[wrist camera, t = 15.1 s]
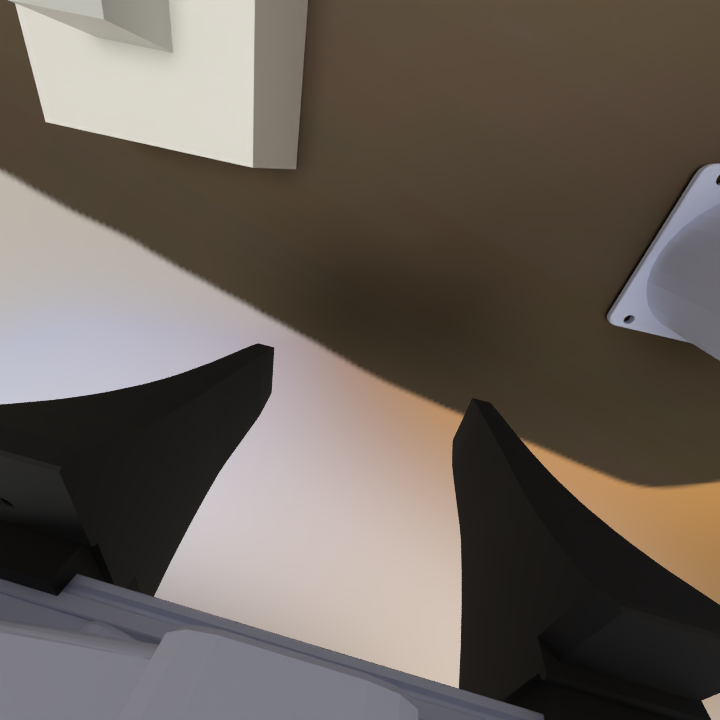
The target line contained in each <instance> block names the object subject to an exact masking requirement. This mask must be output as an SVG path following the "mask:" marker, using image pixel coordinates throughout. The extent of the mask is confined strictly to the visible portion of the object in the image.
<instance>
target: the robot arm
mask: <svg viewBox="0 0 720 720" xmlns="http://www.w3.org/2000/svg"><path fill="white" fill-rule="evenodd" d="M719 175H720V164H708V165H705V166H703V167H702V168H700V169H699V170H698V171H697V172H696V174H695V175H694V177H693V178H692V180H691V181H690V183H689V185H688V186H687V188H686V189H685V191H684V193H683V194H682V196H681V197H680V199H679V201H678V202H677V204H676V205H675V207H674V209H673V210H672V212H671V213H670V215H669V217H668V218H667V220H666V221H665V223H664V225H663V226H662V228H661V229H660V231H659V233H658V234H657V236H656V237H655V239H654V241H653V242H652V244H651V245H650V247H649V248H648V250H647V252H646V253H645V255H644V256H643V258H642V260H641V261H640V263H639V264H638V266H637V268H636V269H635V271H634V272H633V274H632V276H631V277H630V279H629V280H628V282H627V284H626V285H625V287H624V288H623V290H622V292H621V293H620V295H619V296H618V298H617V300H616V301H615V303H614V304H613V306H612V308H611V309H610V311H609V312H608V315H607V320H608V321H609V322H610V323H611V324H613V325H616V326H620V327H625V328H629V329H633V330H637V331H642V332H646V333H650V334H655V335H659V336H663V337H667V338H672V339H676V340H680V341H685V342H689V343H692V344H694V345H695V346H697V347H698V348H700V349H702V350H703V351H705V352H706V353H708V354H709V355H711V356H713V357H714V358H716V359H717V360H719V361H720V183H719V184H716V179H717V177H718V176H719ZM629 315H631V317H630V319H629V320H627V321H624V318H625V317H626V316H629ZM273 359H274V347H270V346H266V345H262V344H255V345H252V346H250V347H247V348H245V349H242V350H240V351H238V352H235V353H233V354H231V355H228V356H226V357H223V358H221V359H218V360H216V361H214V362H211V363H209V364H206V365H203V366H200V367H198V368H195V369H192V370H190V371H187V372H184V373H181V374H178V375H175V376H172V377H168V378H165V379H162V380H158V381H154V382H151V383H147V384H143V385H138V386H133V387H129V388H124V389H120V390H115V391H110V392H105V393H99V394H93V395H87V396H79V397H72V398H66V399H57V400H48V401H37V402H27V403H26V402H25V403H14V404H2V405H0V720H711V718H710V717H709V715H708V713H707V711H706V709H705V707H704V705H703V703H702V701H701V700H704V699H706V698H709V697H711V696H713V695H716V694H718V693H720V605H719V604H717V603H716V602H714V601H713V600H711V599H710V598H708V597H707V596H705V595H704V594H702V593H701V592H699V591H698V590H696V589H695V588H693V587H692V586H690V585H689V584H688V583H686V582H684V581H683V580H681V579H680V578H678V577H677V576H675V575H674V574H672V573H671V572H669V571H668V570H667V569H665V568H664V567H662V566H661V565H659V564H658V563H657V562H655V561H654V560H653V559H651V558H650V557H649V556H647V555H646V554H644V553H643V552H642V551H640V550H639V549H637V548H636V547H635V546H634V545H632V544H631V543H629V542H628V541H627V540H626V539H624V538H623V537H622V536H621V535H619V534H618V533H617V532H615V531H614V530H613V529H611V528H610V527H609V526H608V525H607V524H606V523H604V522H603V521H602V520H601V519H600V518H598V517H597V516H596V515H595V514H594V513H592V512H591V511H590V510H589V509H588V508H586V506H584V505H583V504H582V503H581V502H580V501H578V499H577V498H576V497H574V496H573V495H572V494H571V493H570V492H569V491H568V490H567V489H566V488H565V487H564V486H563V485H562V484H561V483H560V482H558V480H557V479H556V478H555V477H554V476H553V475H552V474H551V473H550V472H549V471H548V470H547V469H546V468H545V467H544V466H543V465H542V464H541V462H540V461H539V460H538V459H537V458H536V457H535V456H534V455H533V454H532V452H530V450H529V449H528V448H527V447H526V446H525V444H524V443H523V442H522V441H521V440H520V438H519V437H518V436H517V435H516V433H515V432H514V431H513V430H512V429H511V427H510V426H509V425H508V424H507V422H506V421H505V420H504V419H503V417H502V416H501V415H500V414H499V412H498V411H497V410H496V409H495V408H494V407H493V405H492V404H491V403H489V402H485V401H481V400H478V399H474V398H472V400H471V402H470V405H469V407H468V409H467V411H466V413H465V415H464V417H463V420H462V422H461V424H460V426H459V428H458V430H457V432H456V435H455V437H454V439H453V450H452V467H453V475H454V484H455V492H456V500H457V508H458V516H459V524H460V534H461V558H462V618H461V654H460V676H459V677H460V678H459V689H458V688H455V687H451V686H448V685H445V684H441V683H438V682H435V681H431V680H428V679H425V678H421V677H418V676H415V675H411V674H408V673H405V672H401V671H398V670H395V669H391V668H388V667H385V666H382V665H378V664H375V663H372V662H368V661H364V660H362V659H358V658H355V657H352V656H348V655H345V654H341V653H338V652H335V651H332V650H328V649H325V648H322V647H318V646H315V645H312V644H308V643H305V642H302V641H298V640H295V639H291V638H288V637H285V636H281V635H279V634H275V633H272V632H268V631H265V630H262V629H259V628H255V627H252V626H248V625H245V624H242V623H239V622H235V621H232V620H228V619H225V618H222V617H219V616H215V615H212V614H209V613H205V612H202V611H199V610H195V609H192V608H189V607H185V606H182V605H179V604H175V603H172V602H169V601H166V600H162V599H159V598H156V597H154V595H155V593H156V591H157V589H158V587H159V585H160V583H161V580H162V578H163V576H164V574H165V572H166V570H167V568H168V566H169V564H170V562H171V560H172V558H173V556H174V554H175V552H176V550H177V548H178V546H179V544H180V542H181V540H182V538H183V537H184V535H185V533H186V531H187V529H188V527H189V525H190V523H191V521H192V519H193V518H194V516H195V514H196V512H197V510H198V509H199V506H200V505H201V503H202V501H203V499H204V498H205V496H206V494H207V492H208V491H209V489H210V487H211V486H212V484H213V482H214V480H215V478H216V477H217V475H218V473H219V472H220V470H221V469H222V467H223V466H224V464H225V463H226V461H227V460H228V459H229V457H230V456H231V454H232V453H233V452H234V450H235V449H236V447H237V446H238V445H239V443H240V442H241V441H242V439H243V438H244V436H245V435H246V434H247V432H248V431H249V430H250V428H251V427H252V425H253V424H254V423H255V421H256V420H257V418H258V417H259V415H260V414H261V412H262V410H263V408H264V406H265V404H266V402H267V401H268V398H269V397H270V395H271V391H272V375H273Z"/></svg>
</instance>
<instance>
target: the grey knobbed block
mask: <svg viewBox="0 0 720 720" xmlns="http://www.w3.org/2000/svg"><path fill="white" fill-rule="evenodd" d="M9 1H11V2H14V3H15V4H16V8H17V12H18V16H19V20H20V24H21V28H22V32H23V36H24V39H25V43H26V47H27V51H28V55H29V59H30V63H31V67H32V71H33V74H34V78H35V82H36V86H37V90H38V94H39V98H40V102H41V106H42V109H43V113H44V117H45V121H46V122H49V123H53V124H58V125H62V126H67V127H71V128H76V129H80V130H85V131H89V132H94V133H98V134H103V135H107V136H112V137H116V138H121V139H125V140H130V141H134V142H139V143H143V144H148V145H153V146H157V147H162V148H166V149H171V150H175V151H180V152H184V153H189V154H193V155H198V156H202V157H207V158H211V159H216V160H220V161H225V162H229V163H234V164H238V165H243V166H247V167H252V168H274V169H296V164H297V150H298V136H299V122H300V108H301V94H302V80H303V66H304V52H305V38H306V24H307V10H308V0H9Z"/></svg>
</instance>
